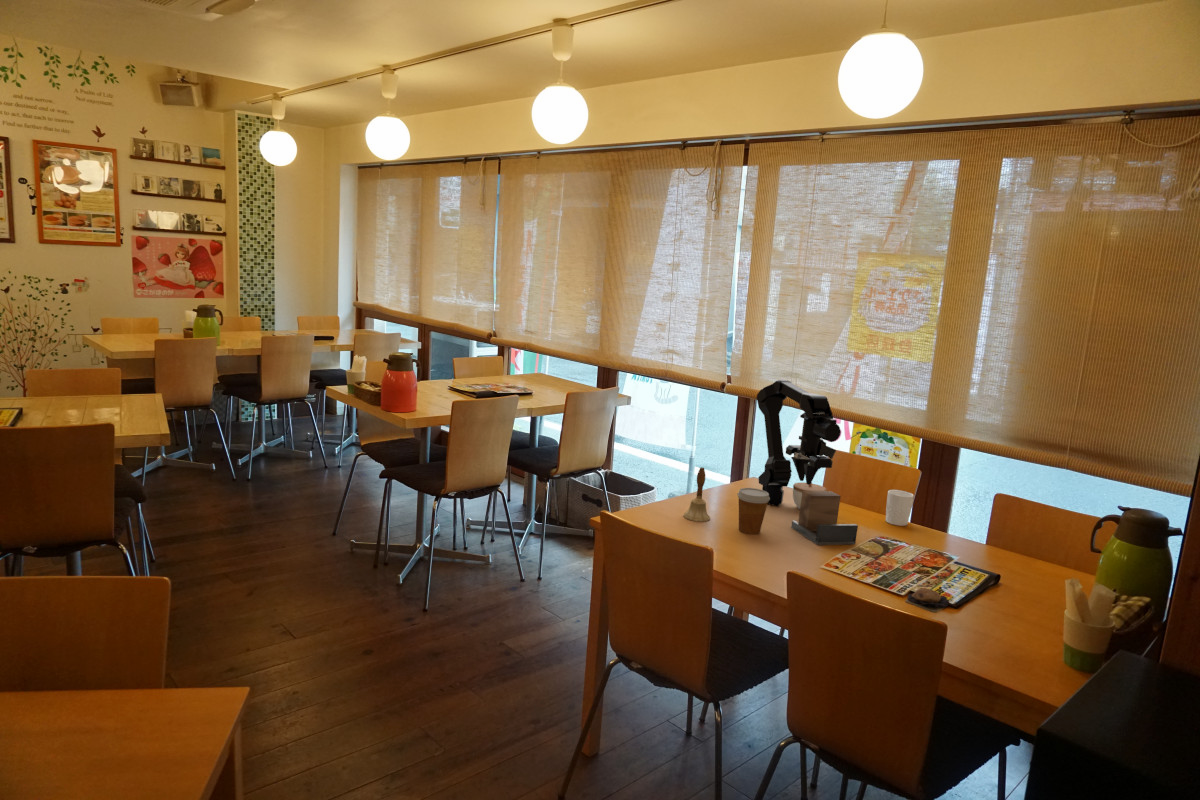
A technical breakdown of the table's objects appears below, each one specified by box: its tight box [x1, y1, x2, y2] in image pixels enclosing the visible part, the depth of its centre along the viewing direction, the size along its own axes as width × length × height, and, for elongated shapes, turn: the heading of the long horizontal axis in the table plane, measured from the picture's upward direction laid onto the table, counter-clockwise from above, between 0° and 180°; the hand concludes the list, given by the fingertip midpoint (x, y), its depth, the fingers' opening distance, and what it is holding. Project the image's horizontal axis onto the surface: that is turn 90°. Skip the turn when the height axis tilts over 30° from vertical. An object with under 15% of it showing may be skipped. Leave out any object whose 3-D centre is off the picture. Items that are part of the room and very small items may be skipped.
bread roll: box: [904, 587, 950, 614], centre depth 185 cm, size 11×8×4 cm
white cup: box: [885, 489, 914, 527], centre depth 249 cm, size 8×8×10 cm
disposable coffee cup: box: [737, 487, 770, 535], centre depth 227 cm, size 10×10×12 cm
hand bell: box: [683, 467, 711, 523], centre depth 235 cm, size 8×8×16 cm
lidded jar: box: [792, 481, 827, 510], centre depth 255 cm, size 11×11×9 cm
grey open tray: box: [790, 520, 859, 546], centre depth 229 cm, size 15×13×6 cm
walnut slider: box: [797, 490, 841, 531], centre depth 231 cm, size 5×10×11 cm, turn 106°
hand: (805, 482), depth 242 cm, fingers open, 4 cm apart
